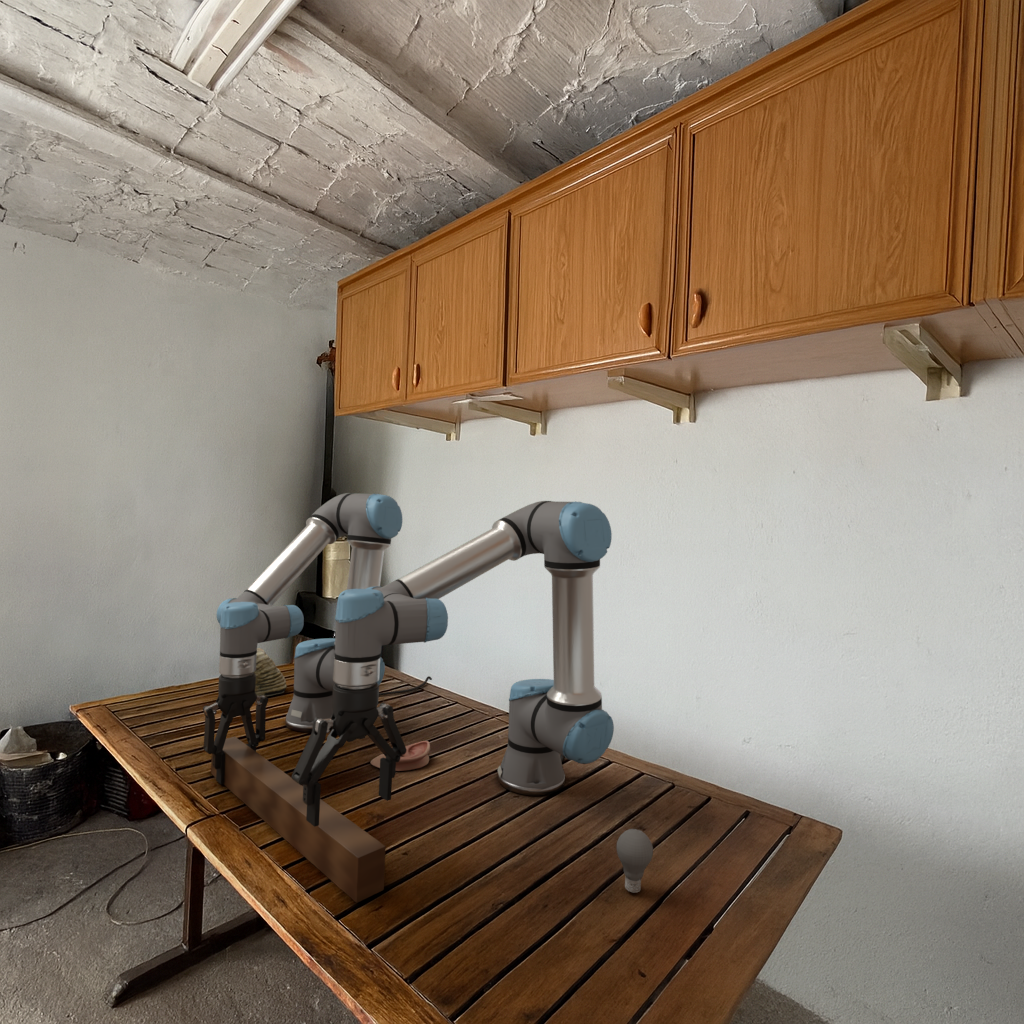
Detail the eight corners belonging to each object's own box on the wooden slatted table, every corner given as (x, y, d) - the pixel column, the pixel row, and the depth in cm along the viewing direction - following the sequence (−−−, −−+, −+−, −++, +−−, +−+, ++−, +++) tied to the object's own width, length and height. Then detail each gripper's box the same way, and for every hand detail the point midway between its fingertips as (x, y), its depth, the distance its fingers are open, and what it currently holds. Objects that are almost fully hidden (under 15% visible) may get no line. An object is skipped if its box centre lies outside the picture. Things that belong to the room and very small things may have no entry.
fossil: (218, 695, 195) (220, 647, 195) (278, 685, 208) (279, 640, 207) (228, 703, 189) (230, 653, 188) (289, 692, 201) (290, 645, 201)
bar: (210, 773, 142) (211, 741, 142) (233, 767, 146) (234, 736, 146) (356, 903, 100) (358, 857, 99) (383, 890, 103) (385, 846, 103)
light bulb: (610, 879, 108) (613, 822, 108) (644, 879, 109) (647, 822, 109) (619, 902, 102) (622, 840, 102) (655, 901, 103) (658, 840, 103)
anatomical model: (365, 751, 148) (384, 733, 160) (364, 767, 148) (384, 749, 160) (419, 758, 146) (435, 740, 157) (418, 775, 146) (434, 756, 157)
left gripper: (200, 684, 130) (196, 796, 131) (285, 670, 143) (281, 772, 143) (187, 676, 135) (183, 784, 136) (270, 663, 148) (266, 761, 149)
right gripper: (296, 702, 94) (289, 844, 94) (429, 676, 112) (423, 795, 112) (273, 690, 99) (267, 824, 99) (404, 666, 117) (399, 781, 117)
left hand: (233, 778), depth 140 cm, fingers closed on bar, 5 cm apart
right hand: (350, 809), depth 106 cm, fingers open, 13 cm apart
